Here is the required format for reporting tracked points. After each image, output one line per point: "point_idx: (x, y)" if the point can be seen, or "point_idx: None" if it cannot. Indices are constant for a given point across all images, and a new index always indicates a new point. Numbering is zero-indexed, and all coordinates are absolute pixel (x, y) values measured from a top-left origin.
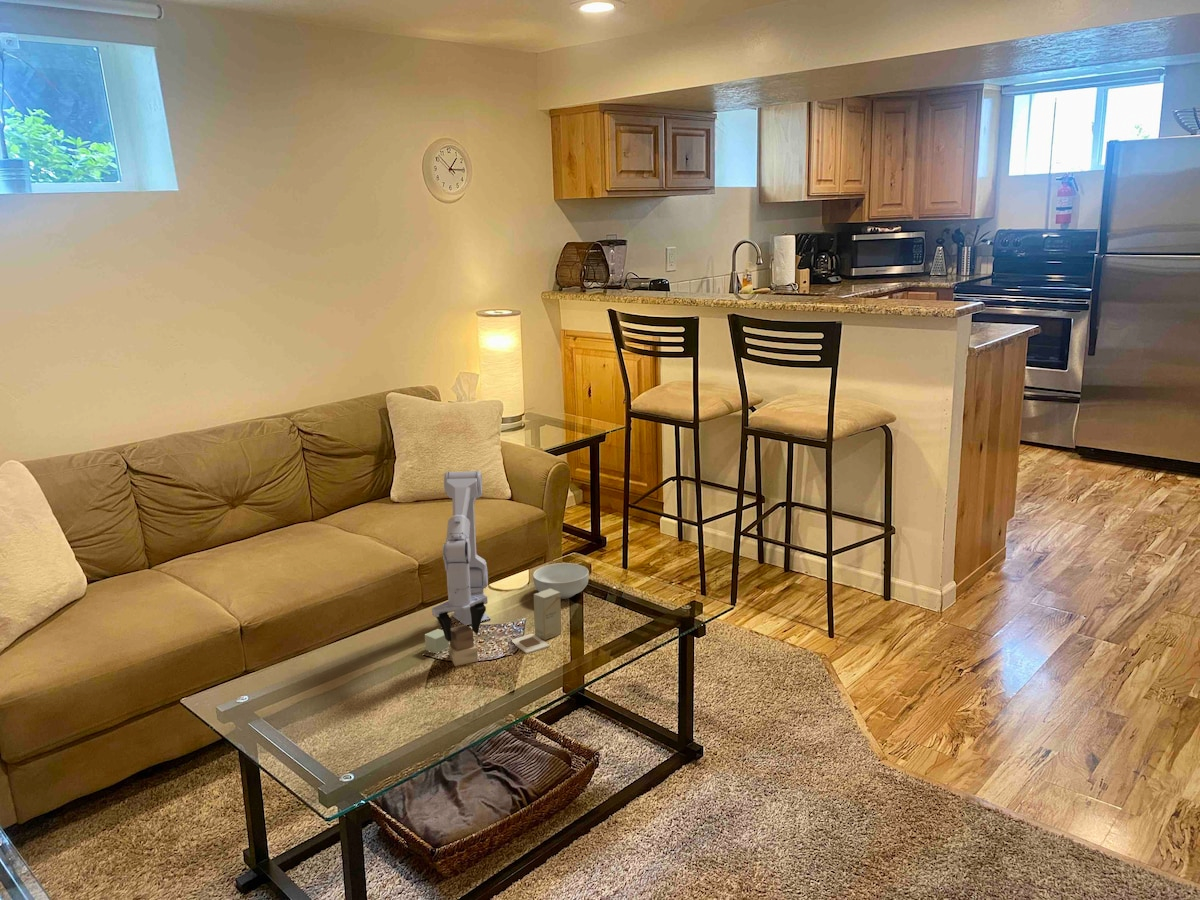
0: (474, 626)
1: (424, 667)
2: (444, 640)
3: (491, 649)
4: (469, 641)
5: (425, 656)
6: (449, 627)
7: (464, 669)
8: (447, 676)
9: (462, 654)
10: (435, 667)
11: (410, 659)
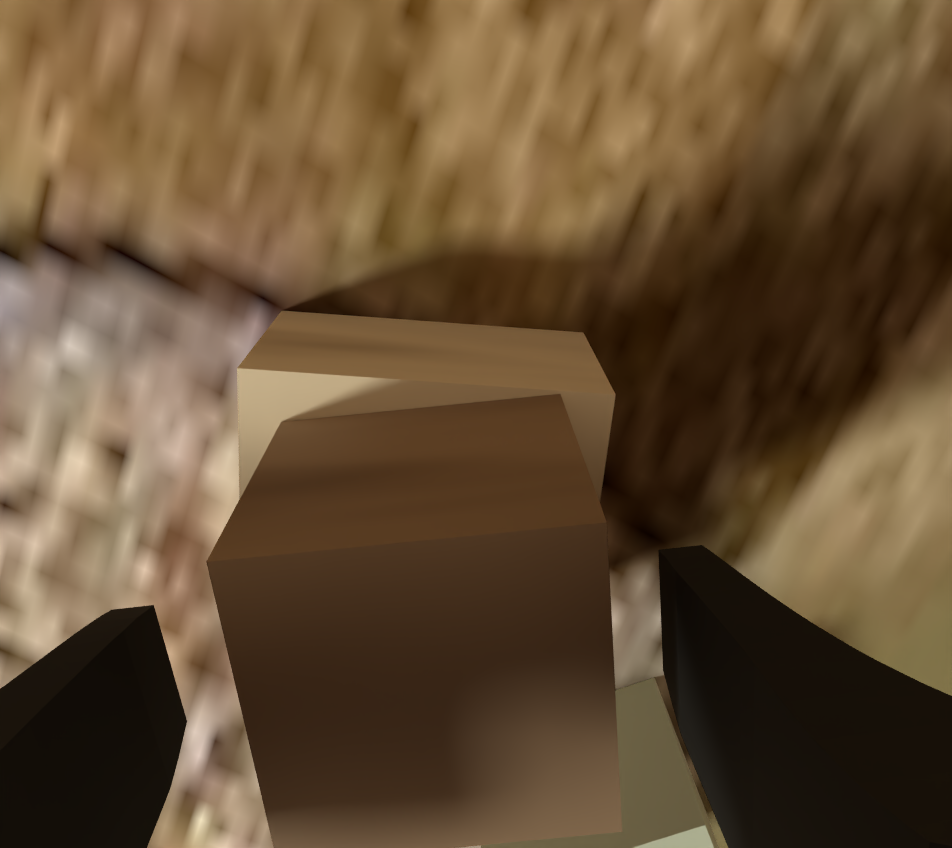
0: (123, 732)
1: (899, 471)
2: None
3: (42, 517)
4: (334, 456)
5: None
6: (813, 687)
7: (513, 176)
8: (781, 99)
9: (483, 365)
10: (796, 411)
11: None
